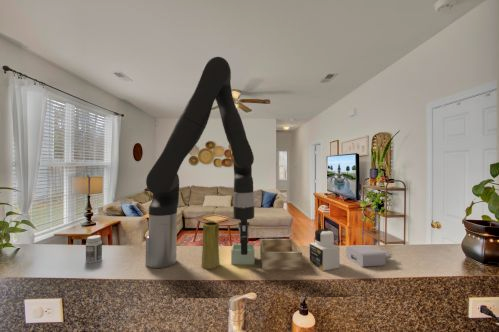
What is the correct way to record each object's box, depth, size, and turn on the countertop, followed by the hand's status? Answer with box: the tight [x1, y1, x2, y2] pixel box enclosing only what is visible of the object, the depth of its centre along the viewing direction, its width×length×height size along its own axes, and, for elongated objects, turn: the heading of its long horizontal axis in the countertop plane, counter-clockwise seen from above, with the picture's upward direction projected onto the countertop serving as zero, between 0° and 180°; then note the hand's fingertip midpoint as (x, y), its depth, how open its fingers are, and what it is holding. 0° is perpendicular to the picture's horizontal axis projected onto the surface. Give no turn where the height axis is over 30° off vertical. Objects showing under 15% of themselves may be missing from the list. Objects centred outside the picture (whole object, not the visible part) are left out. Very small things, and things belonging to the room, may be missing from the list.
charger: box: [345, 244, 393, 268], centre depth 81 cm, size 5×9×15 cm
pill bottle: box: [85, 234, 103, 264], centre depth 79 cm, size 5×5×8 cm
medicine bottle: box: [309, 228, 341, 272], centre depth 77 cm, size 7×7×12 cm
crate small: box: [230, 243, 255, 265], centre depth 80 cm, size 8×6×5 cm
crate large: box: [259, 238, 303, 271], centre depth 81 cm, size 13×15×6 cm
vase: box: [201, 221, 220, 270], centre depth 76 cm, size 6×6×14 cm
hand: (244, 249), depth 80 cm, fingers open, 8 cm apart
